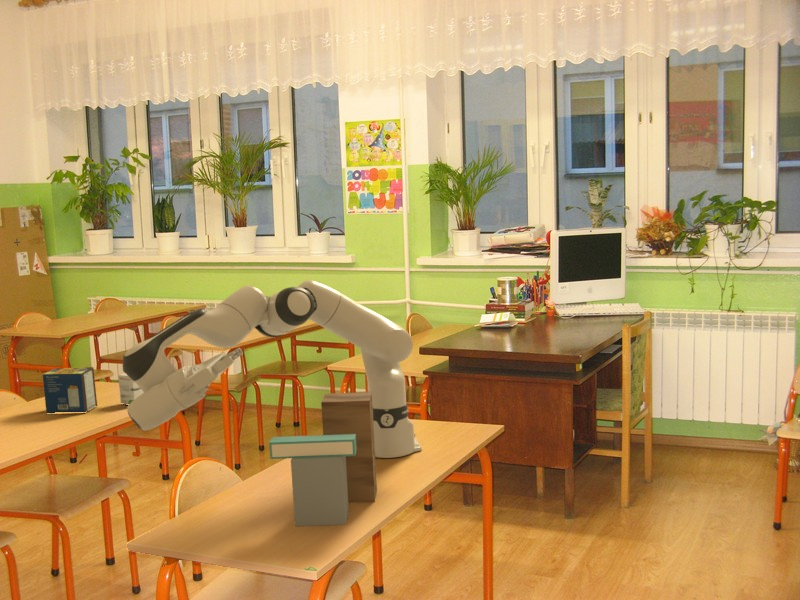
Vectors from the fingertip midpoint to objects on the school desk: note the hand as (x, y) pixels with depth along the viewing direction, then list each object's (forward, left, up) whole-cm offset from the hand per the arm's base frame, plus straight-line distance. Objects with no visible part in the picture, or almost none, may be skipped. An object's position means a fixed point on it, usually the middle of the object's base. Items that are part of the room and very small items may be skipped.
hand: (236, 354), depth 210 cm
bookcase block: (-13, +24, -40) cm, 49 cm away
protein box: (-115, -90, -41) cm, 151 cm away
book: (+2, +17, -24) cm, 30 cm away
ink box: (-121, -69, -41) cm, 145 cm away
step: (+2, +18, -40) cm, 44 cm away
